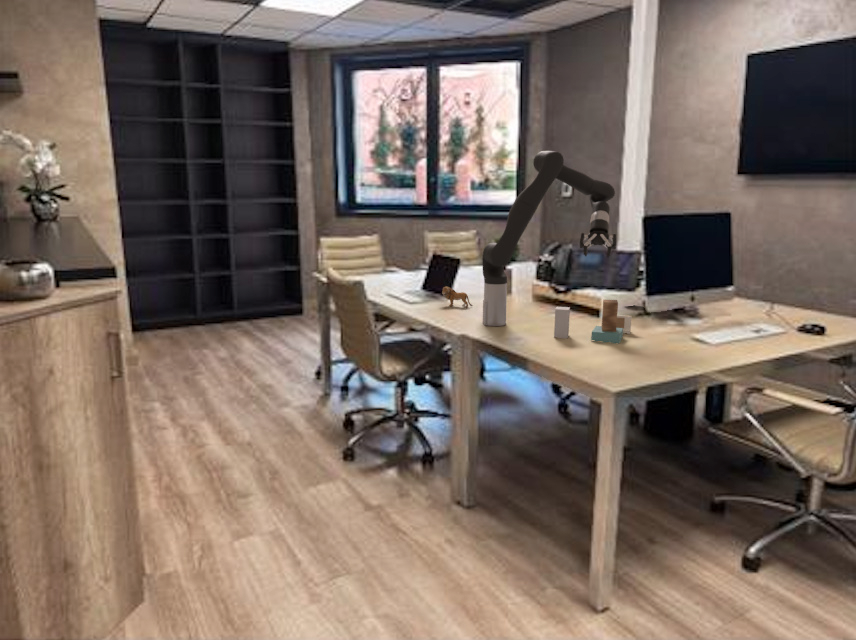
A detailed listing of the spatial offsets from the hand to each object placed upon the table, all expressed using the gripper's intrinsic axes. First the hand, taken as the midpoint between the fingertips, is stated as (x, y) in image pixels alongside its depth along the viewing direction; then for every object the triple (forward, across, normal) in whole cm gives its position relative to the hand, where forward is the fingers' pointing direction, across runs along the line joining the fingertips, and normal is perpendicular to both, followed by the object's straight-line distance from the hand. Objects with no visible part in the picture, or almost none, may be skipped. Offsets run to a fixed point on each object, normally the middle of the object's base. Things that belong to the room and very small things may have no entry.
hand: (596, 255), depth 256 cm
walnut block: (+33, +6, +3) cm, 33 cm away
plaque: (+26, +10, +14) cm, 32 cm away
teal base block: (+36, +6, +6) cm, 37 cm away
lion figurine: (+4, -63, +36) cm, 73 cm away
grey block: (+36, -11, +5) cm, 37 cm away
